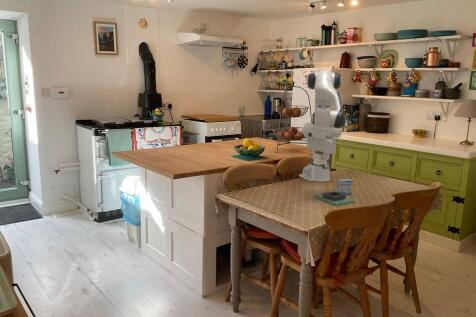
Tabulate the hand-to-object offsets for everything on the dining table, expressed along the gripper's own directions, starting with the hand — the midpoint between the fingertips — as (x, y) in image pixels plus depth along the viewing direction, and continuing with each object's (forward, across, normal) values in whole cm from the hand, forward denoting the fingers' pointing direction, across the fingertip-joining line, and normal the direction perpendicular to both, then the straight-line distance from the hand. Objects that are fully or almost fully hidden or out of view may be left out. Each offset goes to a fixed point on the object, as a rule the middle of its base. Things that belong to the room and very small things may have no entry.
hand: (320, 159), depth 219 cm
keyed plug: (+3, 0, 0) cm, 3 cm away
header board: (+23, -6, -6) cm, 25 cm away
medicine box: (+23, 0, -20) cm, 31 cm away
